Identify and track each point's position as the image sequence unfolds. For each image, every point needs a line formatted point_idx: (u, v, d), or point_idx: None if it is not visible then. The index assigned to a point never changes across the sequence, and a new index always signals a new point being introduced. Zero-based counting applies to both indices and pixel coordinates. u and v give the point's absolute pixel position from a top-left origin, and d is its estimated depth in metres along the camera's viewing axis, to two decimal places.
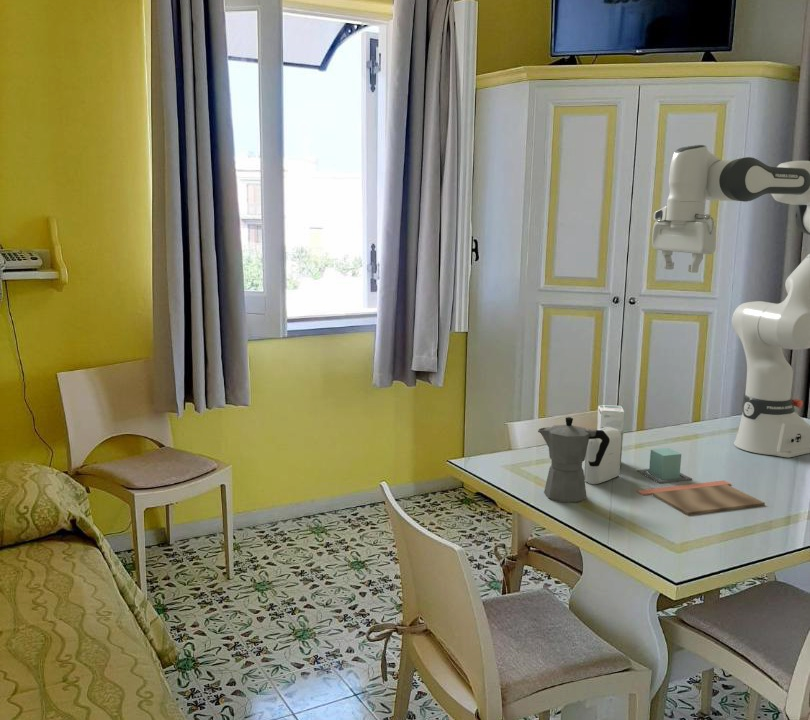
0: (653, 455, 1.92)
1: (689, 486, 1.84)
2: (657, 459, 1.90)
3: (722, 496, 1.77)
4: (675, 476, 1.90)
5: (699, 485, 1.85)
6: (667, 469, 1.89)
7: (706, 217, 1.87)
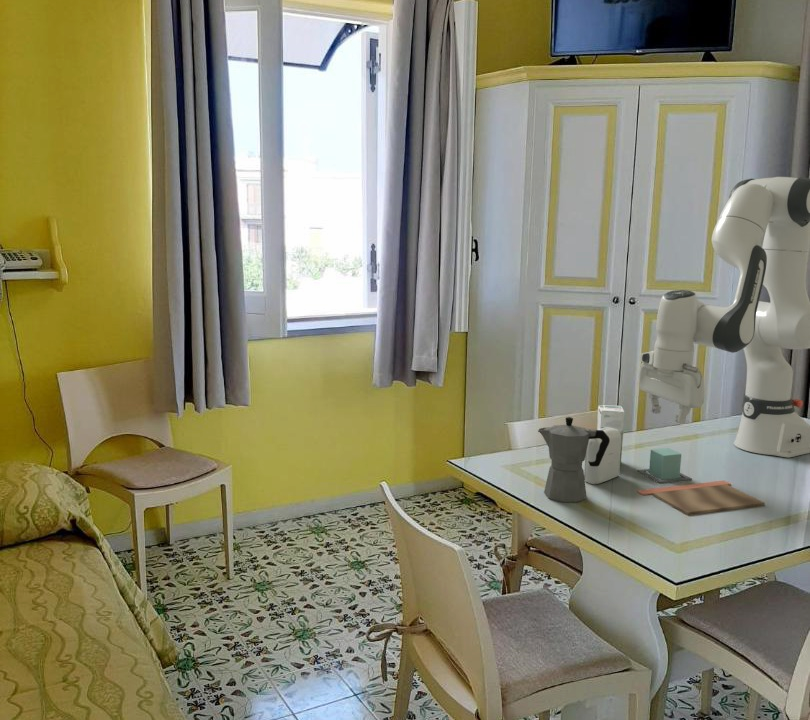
0: (653, 455, 1.92)
1: (689, 486, 1.84)
2: (657, 459, 1.90)
3: (722, 496, 1.77)
4: (675, 476, 1.90)
5: (699, 485, 1.85)
6: (667, 469, 1.89)
7: (694, 370, 1.79)
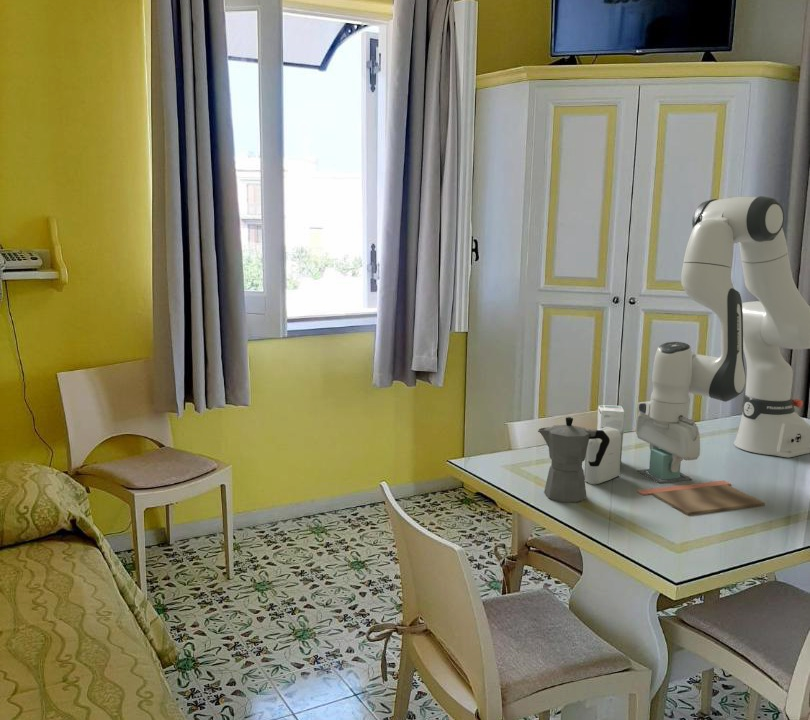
0: (653, 455, 1.92)
1: (689, 486, 1.84)
2: (657, 458, 1.90)
3: (722, 496, 1.77)
4: (675, 476, 1.90)
5: (699, 485, 1.85)
6: (667, 469, 1.89)
7: (690, 423, 1.81)
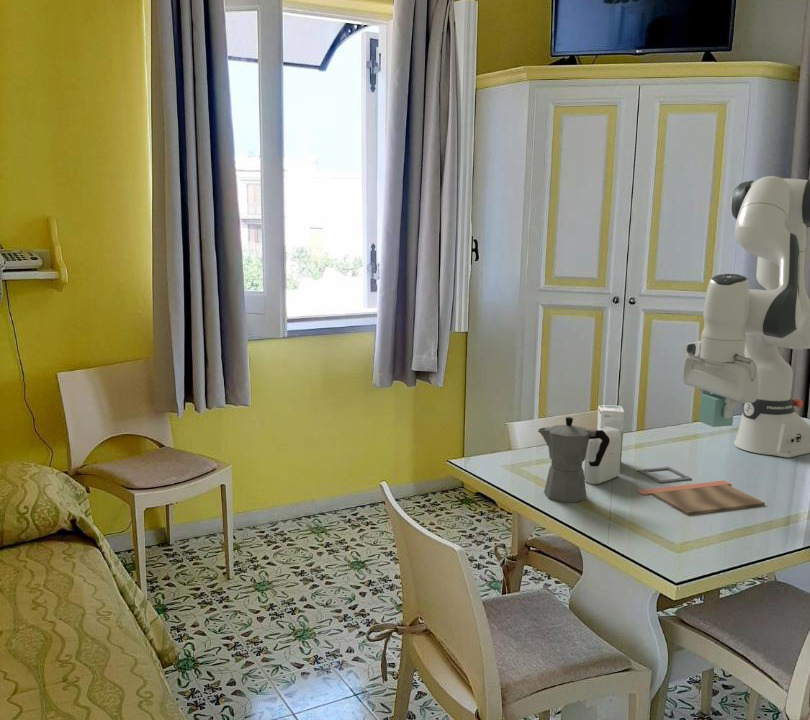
0: (703, 400, 1.73)
1: (689, 486, 1.84)
2: (708, 404, 1.72)
3: (722, 496, 1.77)
4: (728, 423, 1.72)
5: (699, 485, 1.85)
6: (719, 415, 1.70)
7: (747, 361, 1.63)
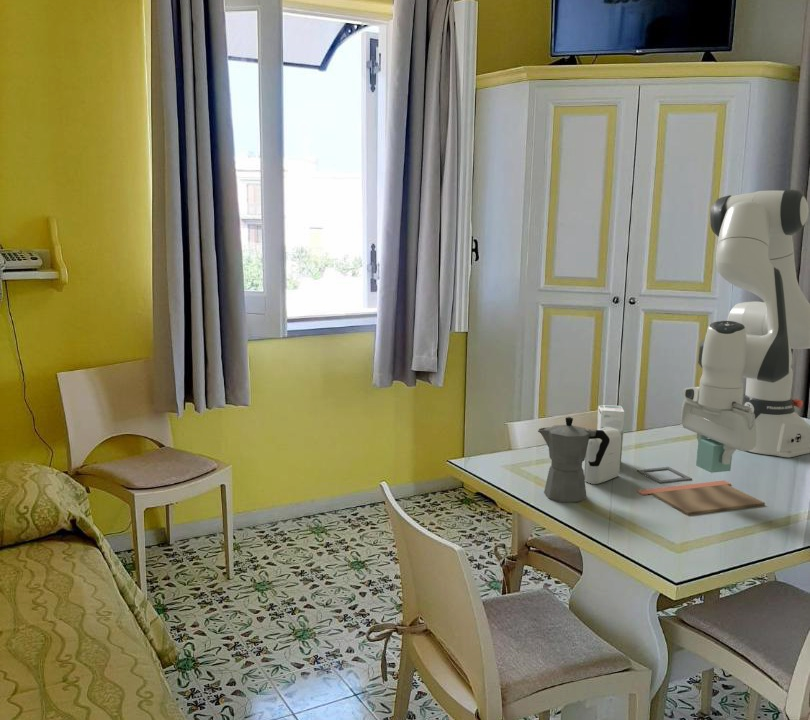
0: (701, 445, 1.74)
1: (689, 486, 1.84)
2: (706, 449, 1.73)
3: (722, 496, 1.77)
4: (726, 468, 1.73)
5: (699, 485, 1.85)
6: (717, 461, 1.72)
7: (745, 410, 1.64)
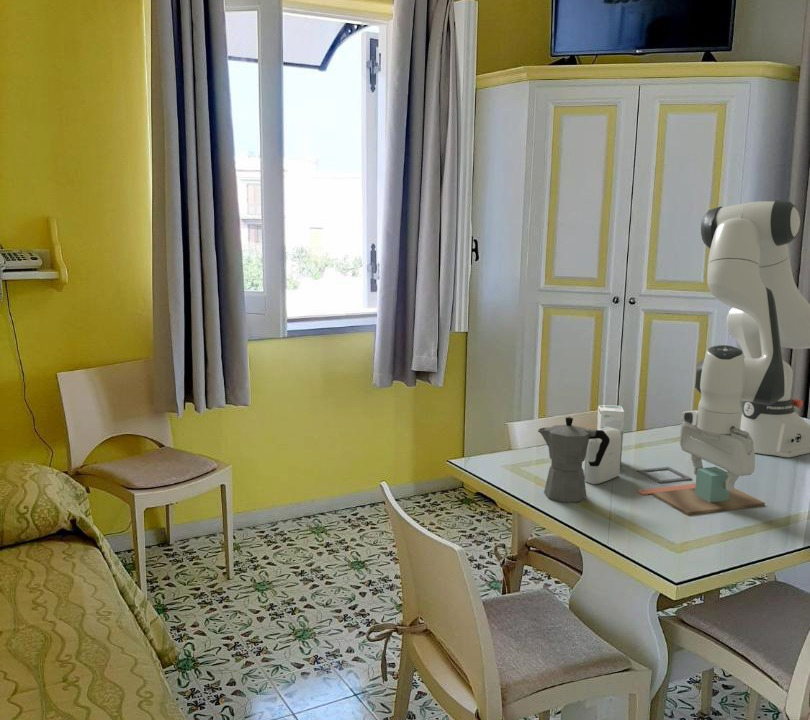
0: (700, 475, 1.76)
1: (689, 486, 1.84)
2: (704, 479, 1.74)
3: None
4: (724, 498, 1.74)
5: None
6: (716, 491, 1.73)
7: (744, 435, 1.65)
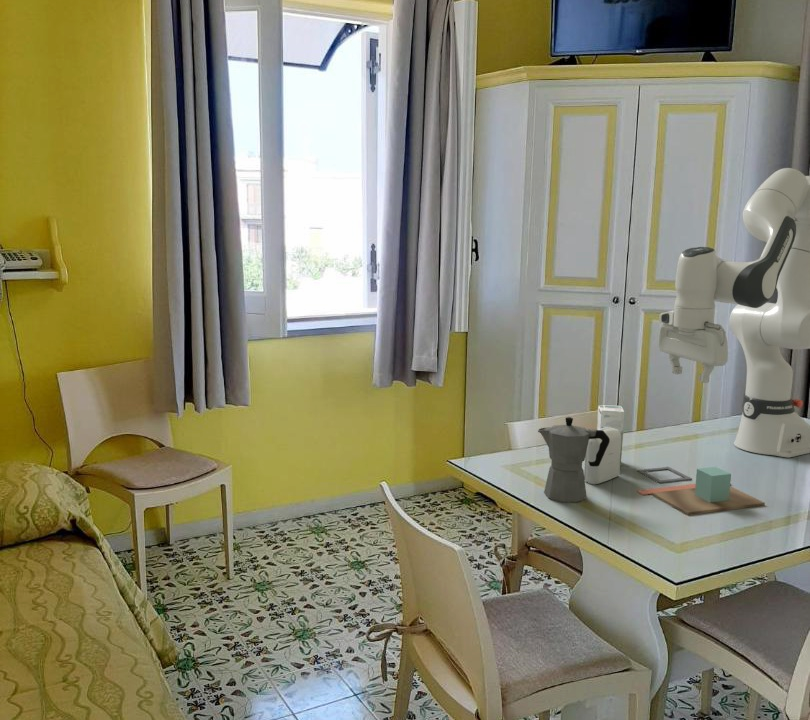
0: (700, 475, 1.76)
1: (689, 486, 1.84)
2: (704, 479, 1.74)
3: None
4: (724, 498, 1.74)
5: None
6: (716, 491, 1.73)
7: (717, 327, 1.75)
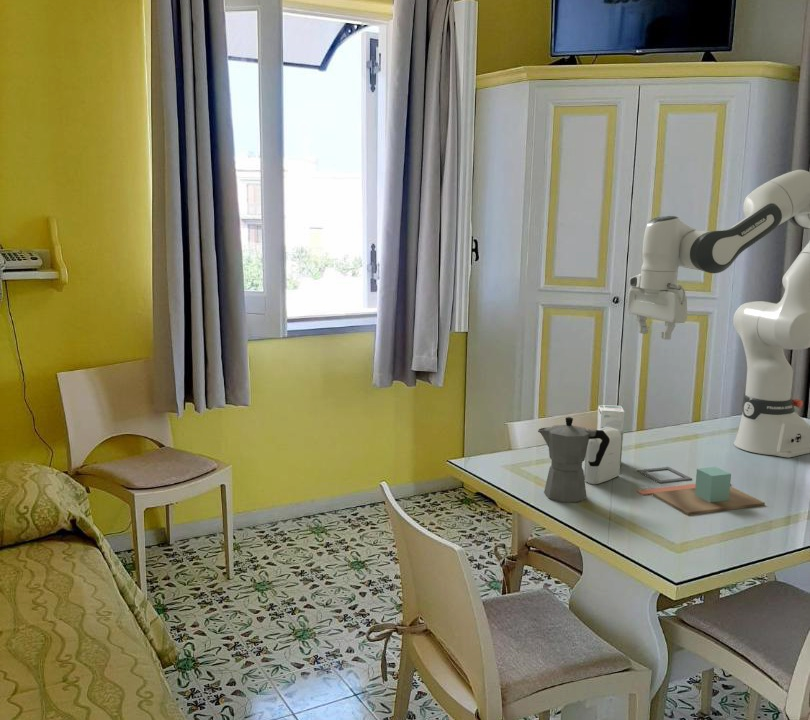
0: (700, 475, 1.76)
1: (689, 486, 1.84)
2: (704, 479, 1.74)
3: None
4: (724, 498, 1.74)
5: None
6: (716, 491, 1.73)
7: (678, 288, 1.92)
